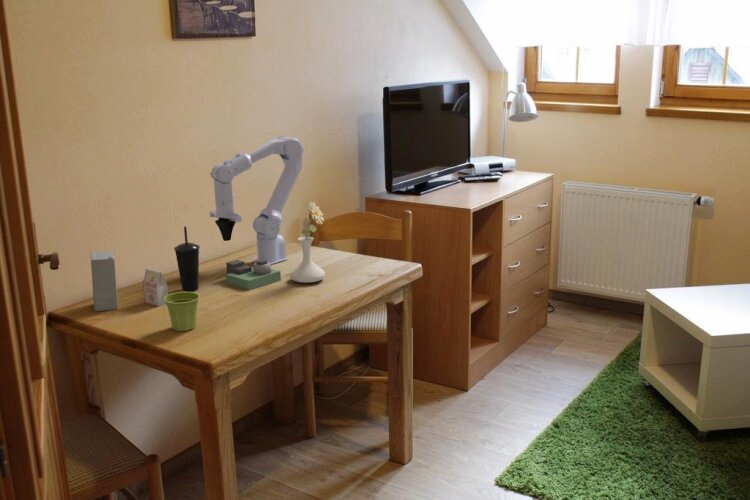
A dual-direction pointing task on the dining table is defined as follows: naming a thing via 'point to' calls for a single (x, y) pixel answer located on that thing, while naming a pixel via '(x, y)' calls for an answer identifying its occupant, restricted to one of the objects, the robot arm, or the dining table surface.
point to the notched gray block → (238, 267)
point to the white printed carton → (154, 288)
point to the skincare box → (104, 280)
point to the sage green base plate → (255, 276)
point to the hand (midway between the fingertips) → (227, 240)
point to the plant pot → (182, 310)
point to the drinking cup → (188, 264)
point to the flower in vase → (307, 268)
